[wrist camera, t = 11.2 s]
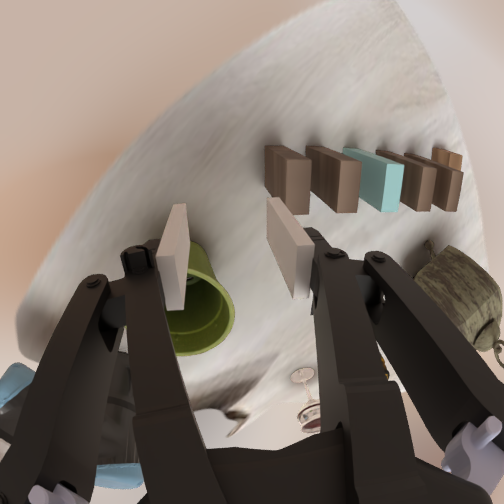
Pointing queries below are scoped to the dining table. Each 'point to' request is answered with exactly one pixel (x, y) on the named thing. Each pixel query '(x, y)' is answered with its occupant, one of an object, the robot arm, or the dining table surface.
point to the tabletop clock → (464, 296)
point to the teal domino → (378, 180)
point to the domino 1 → (288, 178)
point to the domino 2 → (335, 178)
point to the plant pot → (200, 309)
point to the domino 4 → (443, 184)
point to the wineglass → (307, 404)
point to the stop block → (447, 158)
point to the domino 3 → (414, 181)
